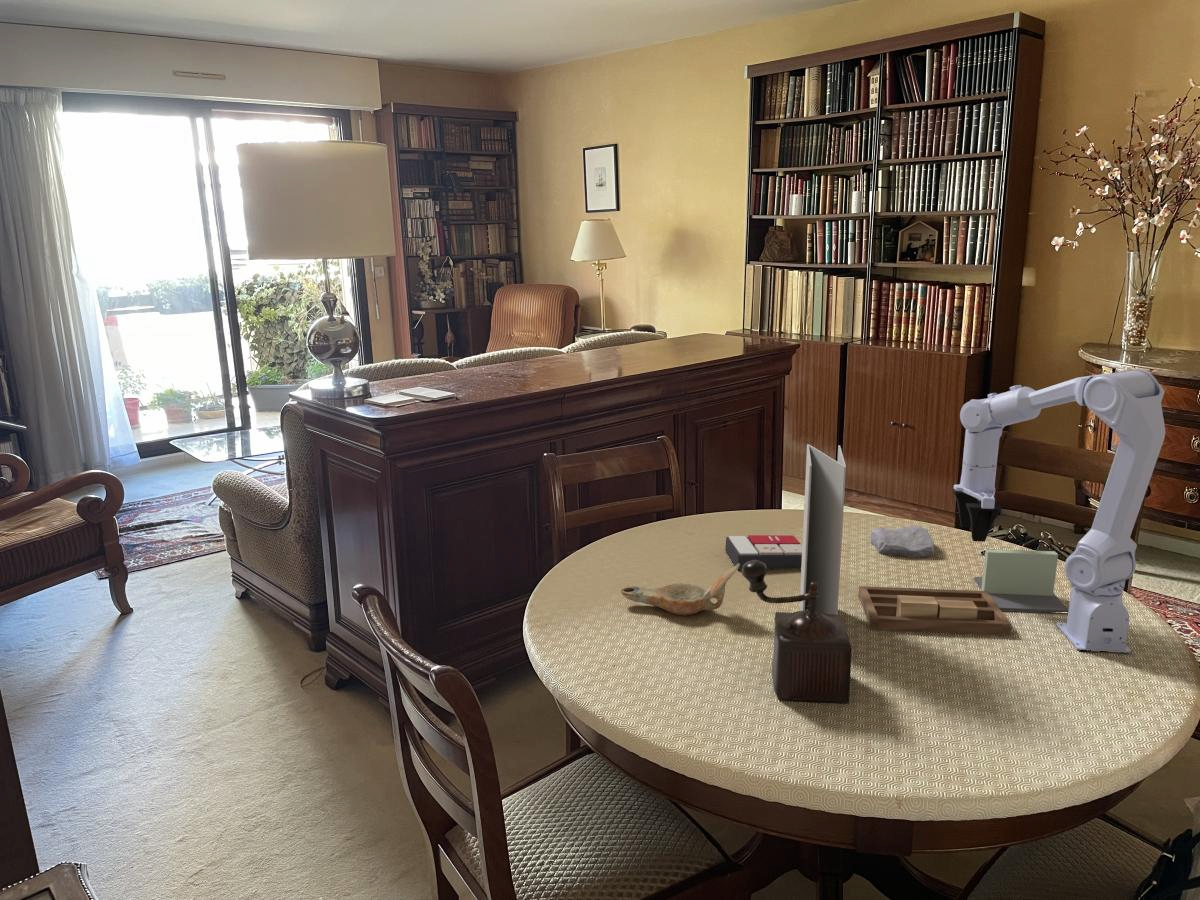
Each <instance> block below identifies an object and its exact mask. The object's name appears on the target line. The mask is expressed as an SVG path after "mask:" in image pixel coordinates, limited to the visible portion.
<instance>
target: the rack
mask: <svg viewBox="0 0 1200 900" xmlns="http://www.w3.org/2000/svg"><path fill="white" fill-rule="evenodd" d="M898 595H904V596H929V597H934V598H935V599H936V600H959V601H973V602H974V604H975V605H976V607H977V608H978V610H977V620H968V619H945V618H921V617H898V616H896V611H897V598H898ZM858 598H859V601H860V602H859V603H860V604H861V606H862V610H863V612H864V615H865V618H866V619H867V622H868V625H869V627H870V629H871V630H880V631H882V630H884V631H899V632H900V631H901V632H904V631H905V632H922V633H923V632H927V633H928V632H929V633H946V634H948V633H949V634H969V635H970V634H971V635H991V636H993V635H994V636H996V635H997V636H1011V631H1012V630H1011V629H1012V623H1011V622H1010V621H1009V620H1008V618H1007V617H1006V615H1005V614H1004V613H1003V611H1001V610H1000V609H999V607H998V606H997V605H996V603H995V602H994V601H993V599H992V598H991V596H990V595H989V594H988V592H987V591H982V590H969V589H967V590H964V589H943V588H939V589H938V588H918V587H911V588H910V587H892V586H891V587H887V586H886V587H885V586H864V585H859V586H858Z"/></svg>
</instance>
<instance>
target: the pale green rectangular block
mask: <svg viewBox="0 0 1200 900" xmlns="http://www.w3.org/2000/svg"><path fill="white" fill-rule="evenodd" d="M1058 557H1059V554H1058V553H1057V552H1056V551H1055V550H1052V551H1051V550H1050V551H1049V550H1023V549H1022V550H1021V549H994V548H993V549H991V548H985V550H984V560H983V561H984V562H983V570H982V577H983V578H982V587H981V588H980V591H987V592H988V593H994V594H1020V595H1045V596H1053V593H1054V592H1055V591H1054V590H1055V582H1056V575H1057V568H1058V567H1057V566H1058V559H1059V558H1058Z"/></svg>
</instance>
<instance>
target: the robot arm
mask: <svg viewBox="0 0 1200 900" xmlns="http://www.w3.org/2000/svg"><path fill="white" fill-rule="evenodd" d="M1164 395H1165V390H1164V388H1163V387H1162V385H1161V384H1160V382H1158V380H1157V378H1155V376H1154V375H1153V374H1152V373H1150V372H1149V371H1147V370H1144V369H1139V368H1138V369H1132V370H1129V371H1123V372H1122V371H1121V372H1119V371H1118V372H1111V373H1110V372H1109V373H1101V374H1092V375H1086V376H1080V377H1078V376H1077V377H1075V378H1073V379H1072V378H1071V379H1069V380H1065V381H1063V382H1060V383H1057V384H1054V385H1050V386H1048V387H1045V388H1040V389H1039V390H1035V389H1033V388H1032V387H1029V386H1022V385H1021V384H1018V385H1017V384H1016V385H1013V386H1010V387H1009V390H1008V391H1006V392H1001V393H997V392H992V393H989V394H987V398H982V399H973V398H972V399H970V400H969V401H967V402H966V403H964V404H963V405H962V407H961V408H960V409H961V410H960V412H959V419H960V422H961V425H962V426H963V427H964V429H965V433H964V445H963V446H964V447H963V457H962V464H961V465H962V469H961V475H960V481H959V484H954V485H953V489H952V493H953V496H954V497H955V500H956V502H957V503H956V504H957V509H958V515H959V516H958V518H959V523H960V527H961V528H970V533H971V538H972V541H973V542H981V543H983V542H986V540H987V538H988V535H989V533H990V529H991V528H992V525H993V523H994V521H995V520H996V518H997V517H998V515H1000V513H1001V511H1002V507H1000V505H996V504H995V502H996V498H995V495H996V494H995V493H996V487H995V486H996V477H997V476H996V474H997V464H998V455H999V447H1000V438H1001V437H1002V435H1003V429H1004V428H1005V427H1006V426H1010V425H1014V424H1018V423H1022V422H1026V421H1031V420H1034V419H1036V418H1037V417H1039V416H1040V414H1041V410H1042V409H1046V408H1050V407H1055V406H1059V405H1063V404H1068V403H1072V402H1077V404H1078V405H1079V406H1081V407H1082V406H1086V407H1087V408H1088V409H1089V410H1090V411H1091V412H1092V414H1094V415H1095V416H1096V417H1097V418H1098V419H1100V420H1101V421H1102V422H1104V424H1106V425H1107V426H1108V427H1109V428H1111V429H1112V430H1113V431H1114V432H1115V434H1116V435H1117V437H1118V439H1119V442H1118V446H1117V448H1116V452H1115V454H1114V458H1113V460H1112V461H1113V462H1112V463H1111V466H1110V470H1109V473H1108V477H1107V479H1106V483H1105V485H1104V488H1103V491H1102V495H1101V497H1100V500H1099V504H1098V507H1097V511H1096V513H1095V515H1094V518H1093V521H1092V525H1091V527H1090V529H1089V530H1088V531H1087V533H1086V534H1084V536H1083V537H1082V538H1081V539H1080V540H1079V541H1078V542H1077V545H1076V546H1075V547H1076V548H1075V549H1074V551H1073V552H1072V553H1071V554H1070V555H1069V556H1067V558H1066V560H1065V562H1064V573H1065V576H1066V578H1067V580H1068V581H1069V582H1070V588H1071V589H1070V596H1069V602H1068V614H1067V621H1066V622H1062V621H1060V622H1059V621H1057V622H1056V626H1057V628H1058V629H1059V630H1060V631H1061V632H1062V633H1063V634H1064V636H1065V635H1066V636H1067V637H1066V636H1065V637H1066V638H1067V639H1068V640H1069V641H1070V643H1071V642H1072V643H1073V644H1074V645H1073V644H1072V643H1071V644H1072V645H1073V646H1074V648H1075V649H1076V650H1078V649H1079V650H1078V651H1080V650H1087V651H1086V652H1089V651H1088V650H1091V651H1090V652H1100V651H1108V652H1107V653H1121V652H1123V653H1124V654H1125V653H1127V654H1130V653H1131V648H1130V647H1129V646H1128V645H1127V638H1128V637H1127V636H1128V631H1129V626H1130V625H1129V624H1130V613H1129V610H1128V609H1127V607H1126V606H1125V604H1124V601H1123V595H1124V593H1123V592H1124V588H1125V586H1126V585H1125V584H1126V581H1127V580H1128V579H1130V578H1131V577H1132V576H1133V575H1134V573H1135V572H1136V568H1137V563H1136V561H1137V560H1136V556H1135V555H1136V550H1137V547H1138V545H1137V543H1136V542H1135V541H1134V539H1132V538H1131V536H1132V532H1133V529H1134V527H1135V524H1136V522H1137V518H1138V515H1139V512H1140V510H1141V506H1142V504H1143V501H1144V498H1145V496H1146V492H1147V490H1148V487H1149V485H1150V481H1151V477H1152V475H1153V472H1154V469H1155V466H1156V464H1157V461H1158V459H1159V455H1160V452H1161V449H1162V446H1163V444H1164V440H1165V438H1166V437H1165V436H1166V426H1165V420H1164V414H1163V406H1162V400H1163V398H1164Z"/></svg>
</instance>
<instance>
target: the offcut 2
mask: <svg viewBox="0 0 1200 900" xmlns="http://www.w3.org/2000/svg"><path fill="white" fill-rule="evenodd" d="M936 601H937V603H938V612H937V618H945V619H968V620H977V610H978V608H977V607H976V605H975V604H974V602H973V601H959V600H936Z"/></svg>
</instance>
